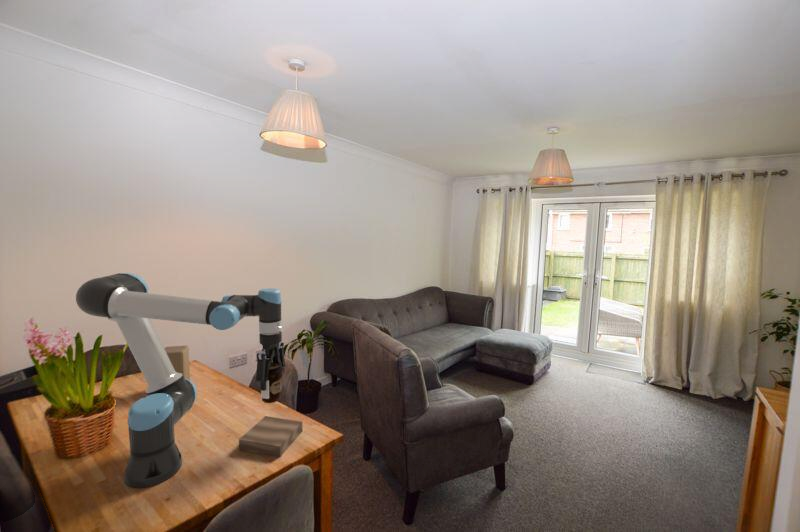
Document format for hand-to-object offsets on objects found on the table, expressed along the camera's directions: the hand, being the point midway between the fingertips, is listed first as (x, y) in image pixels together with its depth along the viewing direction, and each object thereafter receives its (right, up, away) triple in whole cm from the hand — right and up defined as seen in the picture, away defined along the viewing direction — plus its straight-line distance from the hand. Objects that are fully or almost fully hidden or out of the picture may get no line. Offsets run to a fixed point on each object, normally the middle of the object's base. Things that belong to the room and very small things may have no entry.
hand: (271, 392), depth 129 cm
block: (-61, -13, +40) cm, 74 cm away
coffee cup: (0, -3, 0) cm, 3 cm away
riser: (0, -18, +2) cm, 18 cm away
